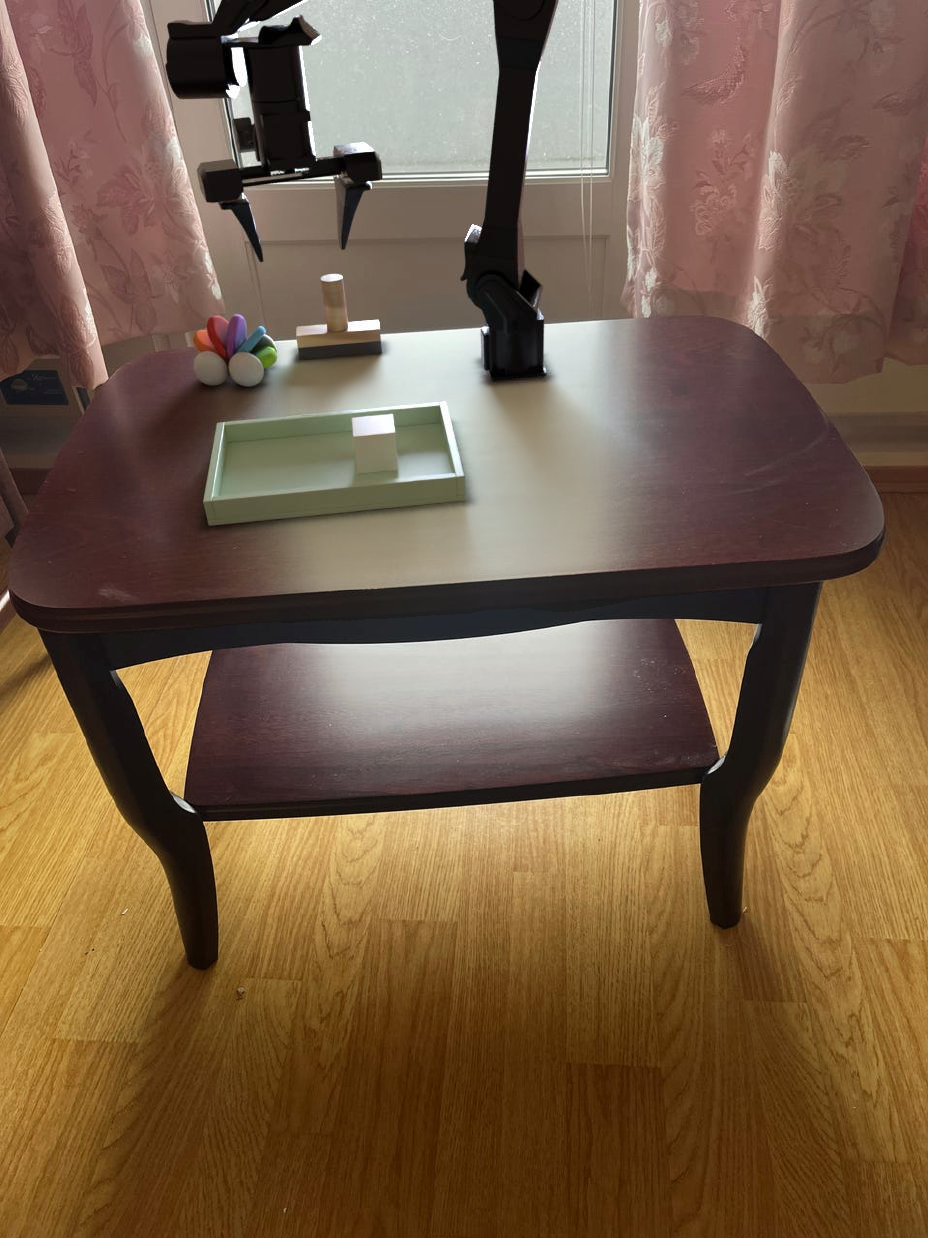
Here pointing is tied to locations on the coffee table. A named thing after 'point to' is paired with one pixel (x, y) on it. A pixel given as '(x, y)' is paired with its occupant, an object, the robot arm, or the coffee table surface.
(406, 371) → the coffee table surface
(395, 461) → the chalk block
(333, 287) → the brush
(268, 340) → the rainbow petal wheeled toy
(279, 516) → the tray
